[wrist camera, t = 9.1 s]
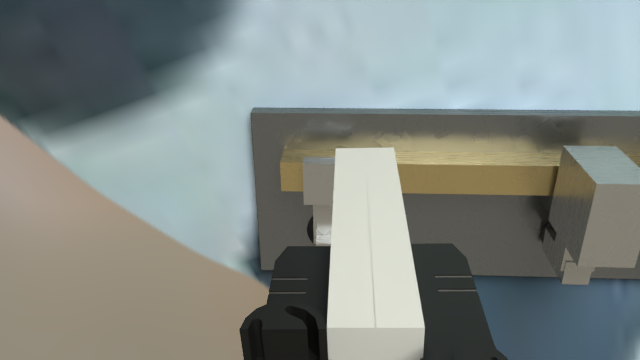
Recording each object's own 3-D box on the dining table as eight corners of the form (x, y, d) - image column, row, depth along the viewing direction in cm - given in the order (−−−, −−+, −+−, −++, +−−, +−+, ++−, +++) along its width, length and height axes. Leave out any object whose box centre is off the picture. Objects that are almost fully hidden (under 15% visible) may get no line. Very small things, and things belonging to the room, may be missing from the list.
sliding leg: (551, 132, 34) (596, 183, 28) (601, 133, 34) (658, 184, 28) (530, 246, 38) (566, 314, 31) (575, 247, 38) (620, 316, 31)
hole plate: (253, 107, 36) (250, 113, 35) (700, 111, 34) (710, 117, 33) (263, 262, 41) (261, 270, 40) (651, 271, 40) (659, 280, 39)
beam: (283, 143, 36) (277, 163, 33) (683, 148, 34) (711, 169, 32) (287, 238, 39) (282, 263, 36) (653, 246, 38) (676, 272, 35)
